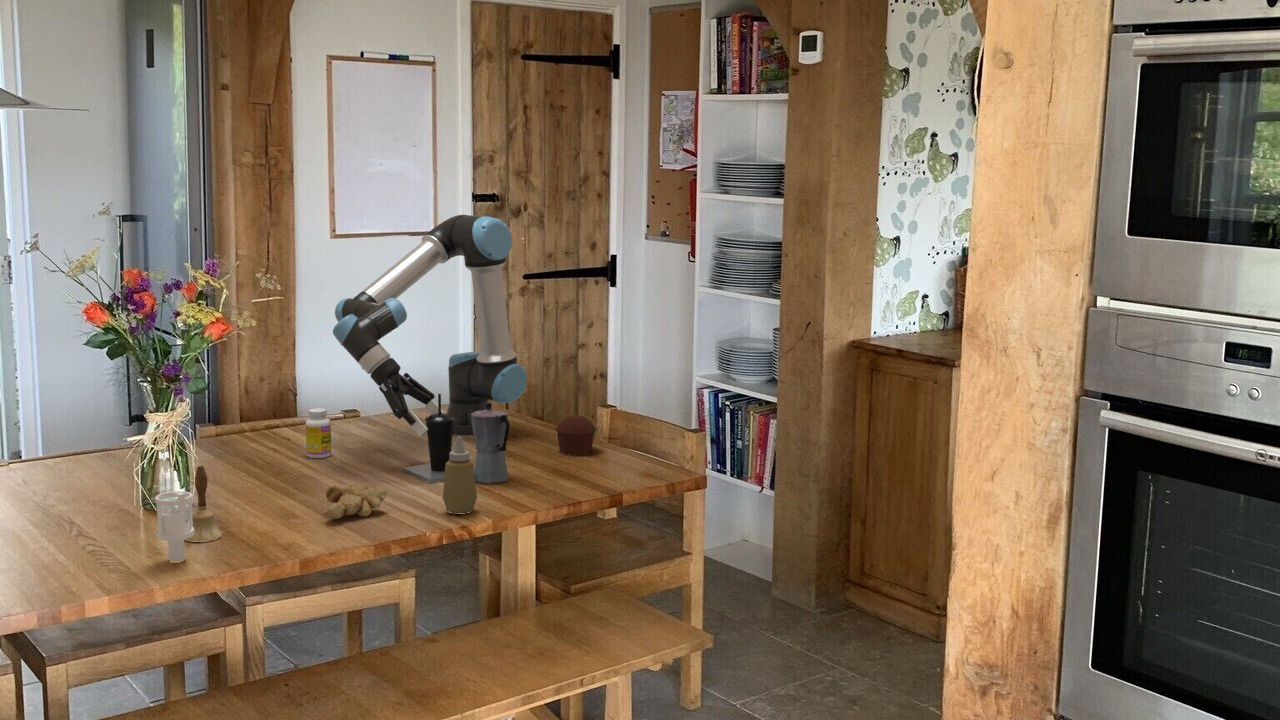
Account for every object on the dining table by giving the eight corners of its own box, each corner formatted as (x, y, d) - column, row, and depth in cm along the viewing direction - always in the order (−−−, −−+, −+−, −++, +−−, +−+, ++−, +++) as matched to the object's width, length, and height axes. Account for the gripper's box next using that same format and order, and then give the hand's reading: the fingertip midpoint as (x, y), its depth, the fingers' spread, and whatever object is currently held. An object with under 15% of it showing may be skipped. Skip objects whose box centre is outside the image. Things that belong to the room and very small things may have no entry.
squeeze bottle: (446, 506, 297) (445, 432, 294) (479, 507, 297) (479, 433, 294) (439, 516, 289) (438, 440, 286) (474, 517, 289) (473, 441, 286)
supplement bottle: (322, 460, 337) (321, 413, 335) (301, 457, 339) (299, 411, 337) (336, 454, 344) (335, 408, 341) (315, 452, 346) (314, 406, 343)
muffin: (599, 455, 346) (599, 420, 344) (560, 457, 344) (560, 422, 342) (590, 445, 358) (591, 411, 356) (552, 447, 355) (552, 412, 353)
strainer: (169, 569, 252) (165, 497, 249) (152, 561, 257) (148, 490, 254) (202, 561, 257) (198, 490, 255) (184, 553, 262) (181, 483, 259)
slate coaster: (449, 463, 336) (449, 459, 336) (477, 474, 325) (477, 470, 325) (403, 471, 327) (402, 468, 327) (430, 483, 316) (430, 479, 316)
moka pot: (489, 471, 329) (488, 396, 325) (526, 483, 318) (526, 406, 314) (459, 477, 322) (458, 401, 319) (496, 490, 311) (496, 411, 308)
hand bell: (230, 532, 276) (227, 462, 273) (211, 544, 268) (208, 472, 265) (195, 530, 277) (191, 460, 274) (175, 541, 269) (171, 470, 266)
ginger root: (375, 493, 302) (375, 464, 299) (393, 526, 290) (394, 496, 286) (310, 503, 296) (309, 473, 292) (326, 537, 283) (325, 507, 280)
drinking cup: (458, 466, 329) (457, 391, 326) (451, 473, 322) (450, 397, 318) (430, 464, 330) (429, 390, 327) (422, 472, 323) (420, 396, 319)
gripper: (392, 367, 338) (444, 425, 337) (348, 384, 314) (404, 447, 313) (409, 349, 336) (462, 407, 335) (367, 365, 312) (424, 428, 311)
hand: (434, 427), depth 324 cm, fingers open, 13 cm apart
